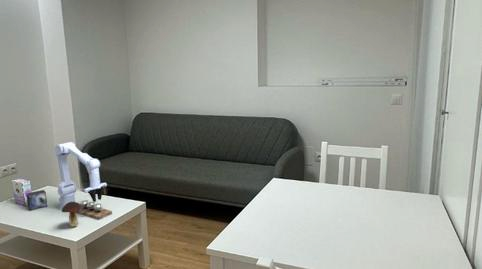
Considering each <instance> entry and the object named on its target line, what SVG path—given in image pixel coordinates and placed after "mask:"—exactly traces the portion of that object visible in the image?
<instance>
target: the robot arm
mask: <svg viewBox="0 0 482 269" xmlns="http://www.w3.org/2000/svg"><path fill="white" fill-rule="evenodd" d="M54 151H55V156H56V158H57V163H58V169H59V175H60V181H61V182H60V183H59V184H58V185H57V193H58V196H59V198H58V201H59V208H58V209H59V210H61V211H62V209H63V207H64V206H65V205H66V204H67V203H69V202H76V200H75V194H76V192H77V186H76V184H75V181H72V180H71V175H70V169H69V164H68V158H67V157H68V156H69V155H70V154H72V155H73V156H75V157H77V158H78V161H79V162H81V163H82V164H83V165H85V168H86V170H87V173H88V176H89V177H88V178H89V187H87V188H84V190H83V193H85V194H89V196H90V198H91V200H92V202H95V203H96V202H97V200H99V201H101V200H102V196H103V193H104V190H105V188H104V187H107V185H108V184H107V182H101V178H100V167H101V162H100V160H99V159H98V158H93V157H92V156H90V155H89V154H88V153H87V152H81V151H80V150H79V149H78V148H77V147H76V144H75V143H74V142H73V141H68V142H64V143H58V144H56V146H55V147H54Z"/></svg>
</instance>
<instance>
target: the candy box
mask: <svg viewBox="0 0 482 269" xmlns="http://www.w3.org/2000/svg"><path fill="white" fill-rule="evenodd" d="M11 186H12V191H13V196H14V203H15V204H17V205H21V206H24V207H26V206H27V207H28V204H27V196H26V194H27V193H31V192H33V191H32V184H31V180H27V179H23V178H17V179H14V180H13V179H12V180H11Z"/></svg>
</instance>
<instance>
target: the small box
mask: <svg viewBox="0 0 482 269" xmlns="http://www.w3.org/2000/svg"><path fill="white" fill-rule="evenodd" d="M26 196H27V204H28V205H27V209H28V210H29V211H31V212H32V211H35V210H40V209H43V208H47V207H49V206H48V198H47V193H46V191H45V190H44V189H41V190H36V191H32V192H31V193H27V194H26Z"/></svg>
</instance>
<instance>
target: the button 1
mask: <svg viewBox="0 0 482 269" xmlns="http://www.w3.org/2000/svg"><path fill="white" fill-rule="evenodd" d="M87 203H89V200H88V199H85V200H81V201H80V204H81V206H83V207H84V208H87V206H86V205H87Z"/></svg>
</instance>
